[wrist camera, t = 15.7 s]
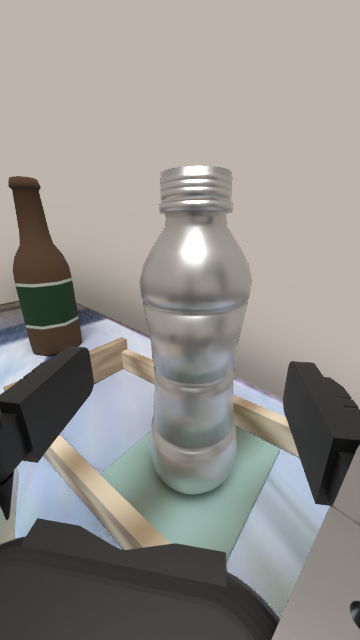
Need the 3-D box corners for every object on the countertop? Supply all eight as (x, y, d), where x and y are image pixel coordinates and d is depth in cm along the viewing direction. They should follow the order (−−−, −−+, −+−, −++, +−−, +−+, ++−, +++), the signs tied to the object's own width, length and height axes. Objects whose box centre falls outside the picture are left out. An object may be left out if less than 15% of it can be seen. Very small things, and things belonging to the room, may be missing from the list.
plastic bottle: (134, 487, 18) (97, 167, 11) (174, 422, 24) (168, 187, 16) (221, 528, 15) (251, 147, 8) (242, 445, 21) (270, 179, 14)
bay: (309, 452, 21) (318, 415, 19) (231, 674, 11) (238, 629, 9) (124, 362, 35) (121, 337, 33) (13, 420, 25) (3, 387, 23)
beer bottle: (22, 347, 40) (-24, 177, 31) (67, 332, 45) (40, 184, 37) (45, 362, 35) (-1, 168, 27) (92, 343, 41) (67, 178, 32)
